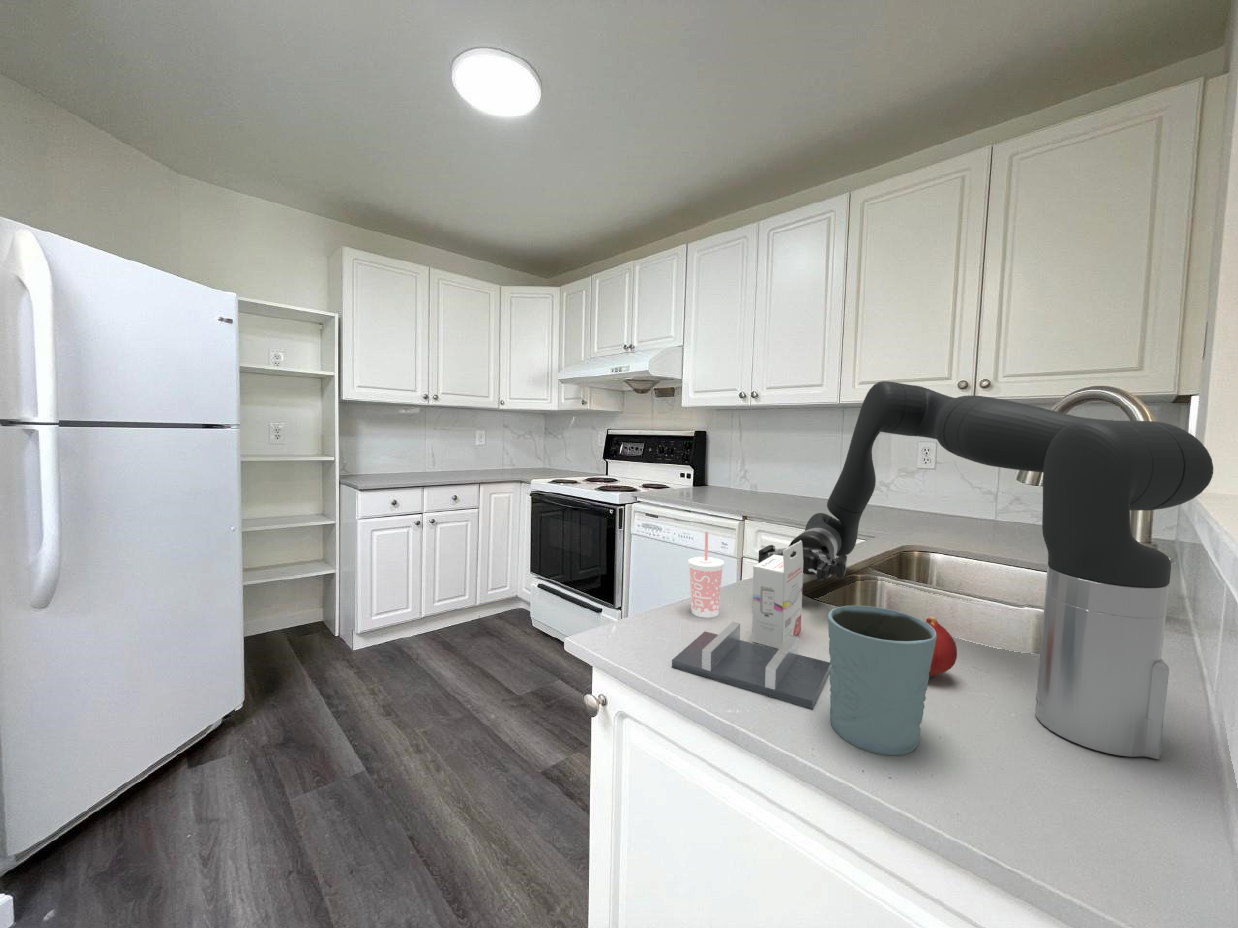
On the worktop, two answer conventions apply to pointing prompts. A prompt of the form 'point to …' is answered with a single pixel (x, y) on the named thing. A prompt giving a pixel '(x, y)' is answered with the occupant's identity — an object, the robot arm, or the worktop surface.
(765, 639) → the ink cartridge box
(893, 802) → the worktop surface
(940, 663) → the onion
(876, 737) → the teal ceramic vase
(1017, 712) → the worktop surface
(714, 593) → the beverage cup
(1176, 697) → the worktop surface
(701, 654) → the rail channel
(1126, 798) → the worktop surface
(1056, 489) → the robot arm
